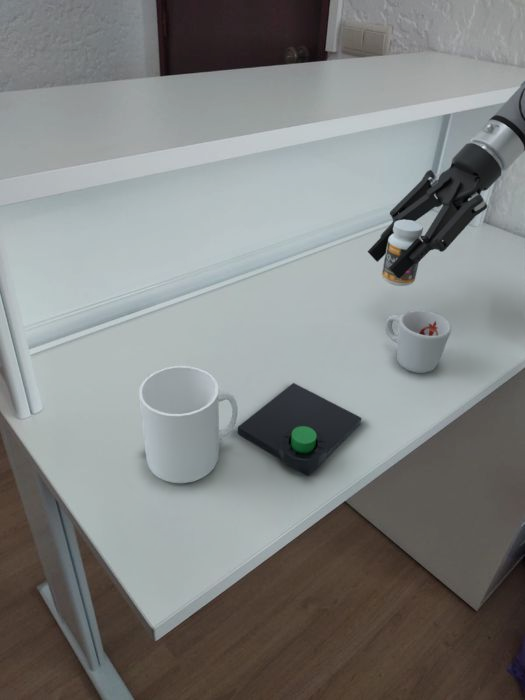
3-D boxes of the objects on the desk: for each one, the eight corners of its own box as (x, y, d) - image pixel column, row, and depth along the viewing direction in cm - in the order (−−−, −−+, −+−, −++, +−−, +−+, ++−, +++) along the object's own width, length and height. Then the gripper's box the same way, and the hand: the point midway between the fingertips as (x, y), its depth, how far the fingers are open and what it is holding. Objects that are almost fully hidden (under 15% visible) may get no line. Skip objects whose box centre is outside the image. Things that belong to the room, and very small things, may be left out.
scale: (363, 426, 82) (366, 410, 81) (307, 483, 73) (309, 467, 72) (292, 389, 89) (294, 373, 87) (232, 437, 79) (232, 421, 78)
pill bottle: (379, 283, 98) (388, 228, 92) (383, 269, 102) (392, 216, 97) (413, 289, 97) (424, 234, 91) (416, 274, 101) (427, 221, 96)
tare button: (320, 443, 75) (321, 433, 74) (306, 457, 73) (307, 447, 72) (300, 432, 77) (301, 422, 76) (285, 445, 75) (286, 435, 74)
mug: (133, 452, 76) (124, 383, 70) (209, 417, 83) (208, 350, 76) (169, 498, 70) (163, 427, 64) (249, 456, 77) (251, 388, 70)
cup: (368, 354, 97) (375, 313, 92) (396, 337, 101) (405, 297, 97) (422, 385, 91) (432, 343, 86) (450, 365, 95) (461, 324, 90)
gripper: (439, 126, 97) (342, 230, 101) (520, 159, 83) (405, 278, 87) (457, 156, 102) (364, 253, 106) (536, 191, 88) (427, 303, 92)
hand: (383, 264), depth 96 cm, fingers closed on pill bottle, 6 cm apart
